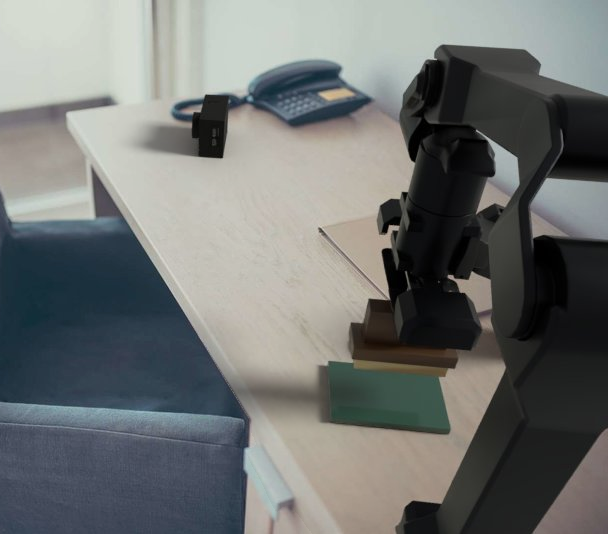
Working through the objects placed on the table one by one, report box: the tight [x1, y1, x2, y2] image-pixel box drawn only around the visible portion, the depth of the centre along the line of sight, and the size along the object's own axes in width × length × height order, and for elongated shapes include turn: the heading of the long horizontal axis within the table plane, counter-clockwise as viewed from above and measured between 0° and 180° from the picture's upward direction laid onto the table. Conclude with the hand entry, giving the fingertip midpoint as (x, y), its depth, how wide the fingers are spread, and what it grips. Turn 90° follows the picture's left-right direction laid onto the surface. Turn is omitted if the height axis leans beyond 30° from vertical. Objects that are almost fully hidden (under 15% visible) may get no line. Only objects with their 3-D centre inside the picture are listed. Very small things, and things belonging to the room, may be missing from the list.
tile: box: [326, 360, 452, 435], centre depth 68 cm, size 8×12×1 cm, turn 84°
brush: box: [348, 298, 459, 378], centre depth 63 cm, size 4×10×7 cm, turn 84°
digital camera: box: [191, 93, 230, 159], centre depth 111 cm, size 10×5×7 cm, turn 174°
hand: (403, 334), depth 63 cm, fingers closed on brush, 2 cm apart
